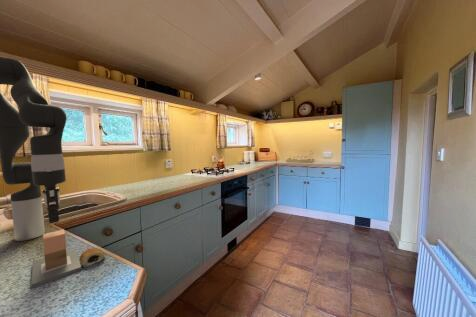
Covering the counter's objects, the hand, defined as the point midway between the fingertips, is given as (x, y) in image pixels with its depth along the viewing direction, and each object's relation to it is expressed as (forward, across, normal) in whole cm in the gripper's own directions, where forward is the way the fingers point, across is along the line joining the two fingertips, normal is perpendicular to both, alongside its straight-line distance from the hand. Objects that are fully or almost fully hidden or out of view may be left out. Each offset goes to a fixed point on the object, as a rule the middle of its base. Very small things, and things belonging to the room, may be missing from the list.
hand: (53, 218), depth 64 cm
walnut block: (+15, 0, 0) cm, 15 cm away
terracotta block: (+10, 0, 0) cm, 10 cm away
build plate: (+16, 0, 0) cm, 16 cm away
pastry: (+16, +4, +8) cm, 19 cm away
